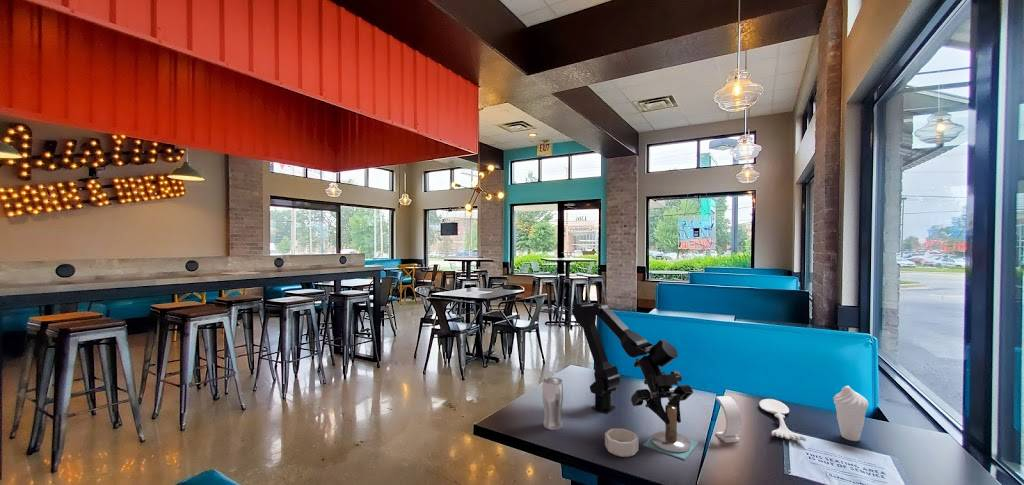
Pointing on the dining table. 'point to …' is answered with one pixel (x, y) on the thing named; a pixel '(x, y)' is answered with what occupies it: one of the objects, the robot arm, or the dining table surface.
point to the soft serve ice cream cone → (850, 413)
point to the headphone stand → (730, 419)
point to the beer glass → (552, 402)
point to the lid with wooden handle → (671, 435)
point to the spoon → (778, 410)
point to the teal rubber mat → (678, 455)
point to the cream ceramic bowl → (621, 442)
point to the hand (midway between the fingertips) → (673, 423)
